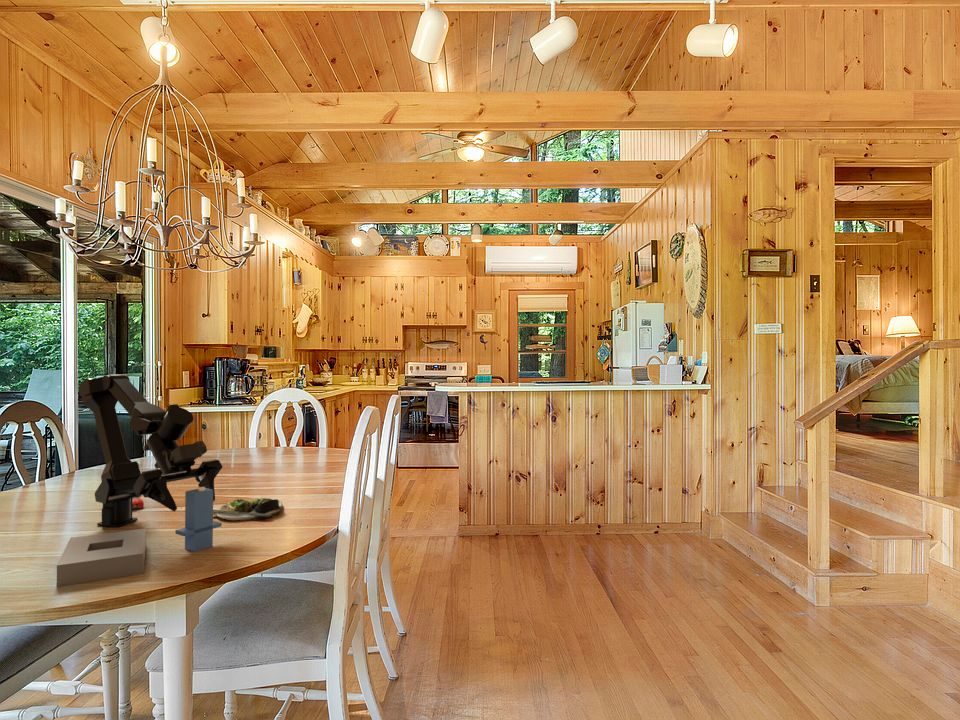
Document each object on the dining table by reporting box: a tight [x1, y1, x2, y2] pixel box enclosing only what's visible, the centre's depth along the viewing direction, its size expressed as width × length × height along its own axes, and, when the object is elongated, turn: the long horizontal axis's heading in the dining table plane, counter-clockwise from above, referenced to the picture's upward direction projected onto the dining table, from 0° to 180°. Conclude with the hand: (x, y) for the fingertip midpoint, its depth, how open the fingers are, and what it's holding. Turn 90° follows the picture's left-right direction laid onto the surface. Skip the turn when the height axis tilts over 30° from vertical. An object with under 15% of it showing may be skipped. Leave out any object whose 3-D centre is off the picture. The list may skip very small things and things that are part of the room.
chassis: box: [56, 528, 147, 587], centre depth 116 cm, size 18×14×4 cm
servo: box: [175, 486, 222, 553], centre depth 127 cm, size 4×9×14 cm, turn 149°
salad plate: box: [213, 497, 283, 522], centre depth 155 cm, size 19×18×5 cm
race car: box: [132, 495, 145, 511], centre depth 161 cm, size 13×5×4 cm, turn 42°
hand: (195, 505), depth 128 cm, fingers open, 9 cm apart
